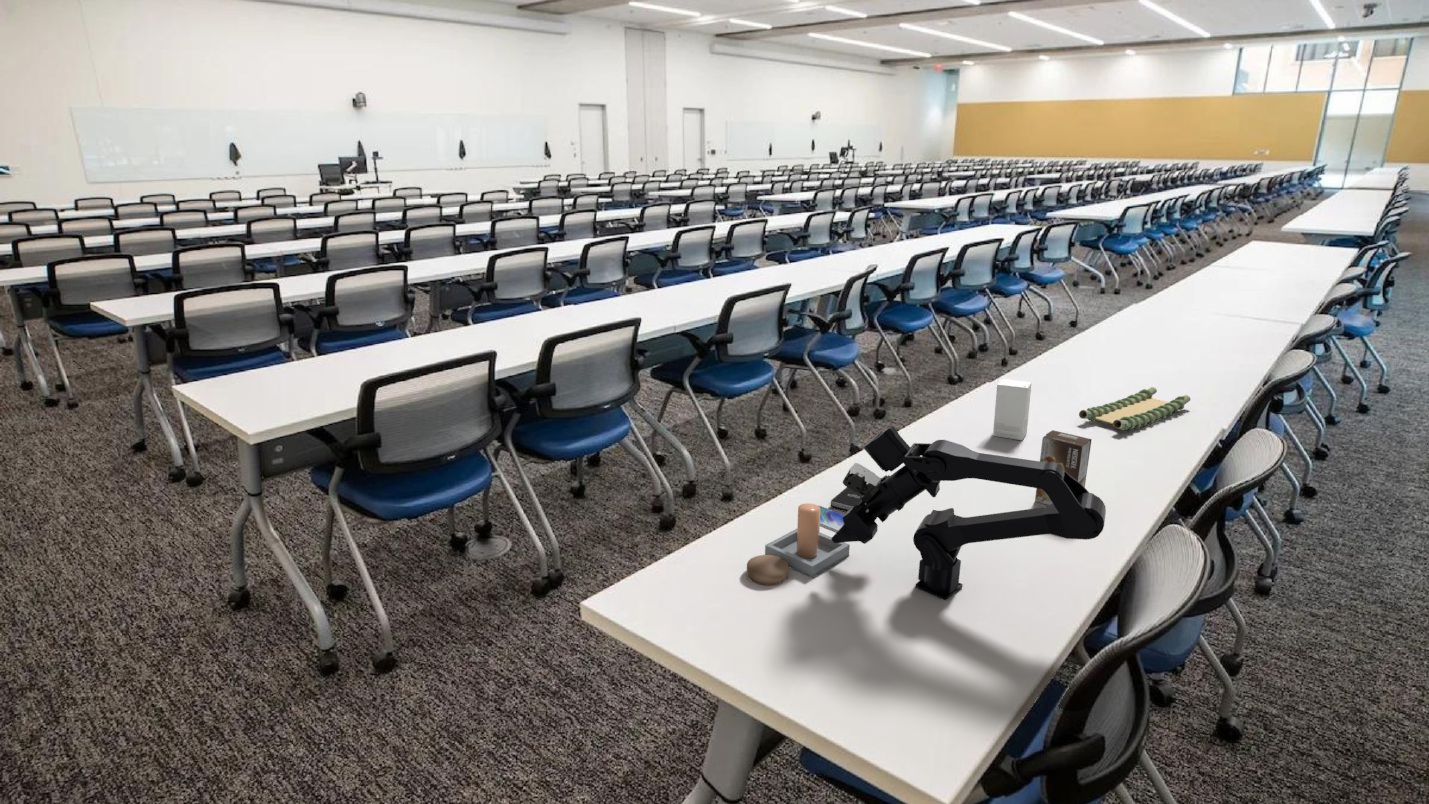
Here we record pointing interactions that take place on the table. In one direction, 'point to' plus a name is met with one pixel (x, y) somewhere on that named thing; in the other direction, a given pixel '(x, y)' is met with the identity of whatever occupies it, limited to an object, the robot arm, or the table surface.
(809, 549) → the peach stamp handle
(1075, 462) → the coffee box
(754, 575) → the brown stone
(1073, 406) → the table surface
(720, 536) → the table surface
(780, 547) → the tray
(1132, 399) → the stretcher
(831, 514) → the smartphone
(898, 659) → the table surface
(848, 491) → the external hard drive
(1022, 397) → the skincare box
